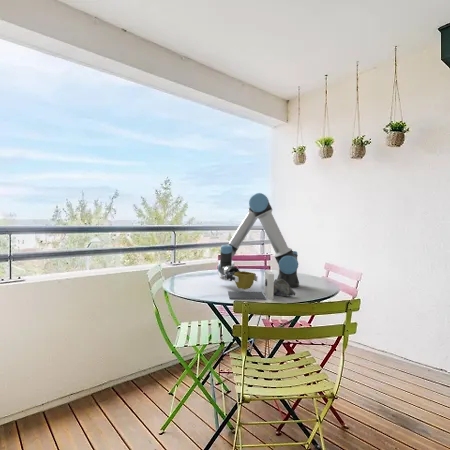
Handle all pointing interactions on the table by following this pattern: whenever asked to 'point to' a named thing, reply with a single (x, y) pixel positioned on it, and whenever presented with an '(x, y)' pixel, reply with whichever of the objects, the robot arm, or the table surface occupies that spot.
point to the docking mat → (246, 295)
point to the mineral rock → (282, 288)
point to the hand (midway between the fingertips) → (247, 279)
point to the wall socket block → (269, 284)
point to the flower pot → (244, 279)
